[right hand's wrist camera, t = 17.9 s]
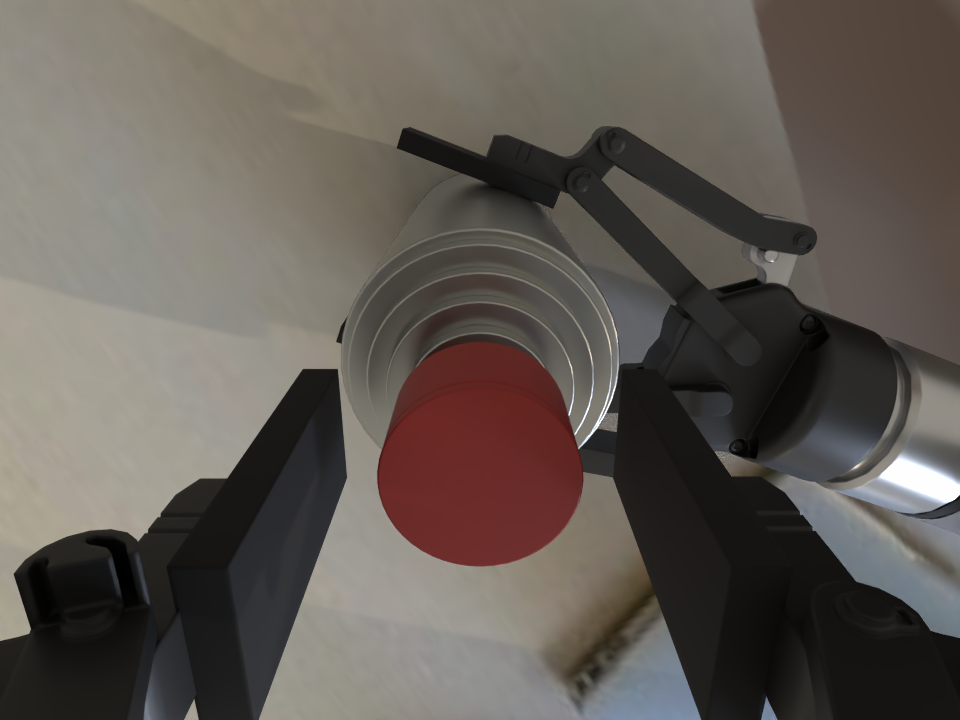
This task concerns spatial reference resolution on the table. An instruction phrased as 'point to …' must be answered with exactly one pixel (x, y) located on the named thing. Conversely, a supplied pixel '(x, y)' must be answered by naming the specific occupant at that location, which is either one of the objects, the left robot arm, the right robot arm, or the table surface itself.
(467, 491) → the cap
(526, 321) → the bottle
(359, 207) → the table surface
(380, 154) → the table surface
